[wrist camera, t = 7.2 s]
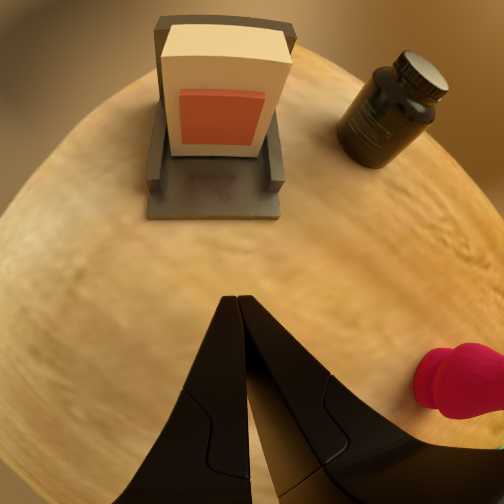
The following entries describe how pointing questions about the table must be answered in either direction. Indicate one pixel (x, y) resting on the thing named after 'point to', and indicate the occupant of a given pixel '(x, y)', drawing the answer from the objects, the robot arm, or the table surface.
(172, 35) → the cream block orange label
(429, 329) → the table surface
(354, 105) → the supplement bottle
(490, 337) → the table surface
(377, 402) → the table surface
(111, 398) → the table surface
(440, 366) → the pepper mill
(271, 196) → the press stand
